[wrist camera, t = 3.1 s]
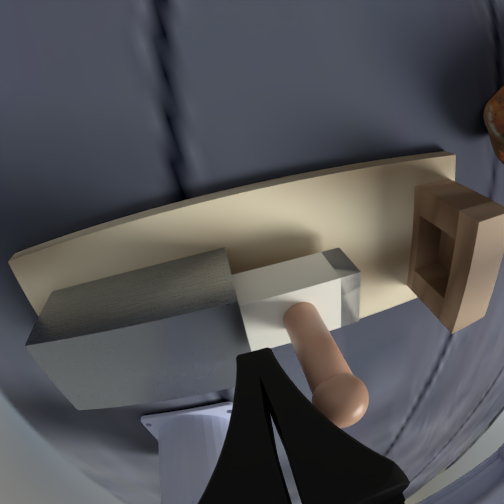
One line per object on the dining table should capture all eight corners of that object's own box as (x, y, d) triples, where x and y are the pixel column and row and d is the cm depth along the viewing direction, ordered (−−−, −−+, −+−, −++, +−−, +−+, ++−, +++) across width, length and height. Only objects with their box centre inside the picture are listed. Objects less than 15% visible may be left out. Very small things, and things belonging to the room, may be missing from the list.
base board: (432, 281, 21) (440, 287, 20) (87, 371, 19) (84, 382, 18) (445, 151, 16) (455, 154, 15) (15, 253, 14) (7, 261, 13)
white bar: (340, 294, 17) (416, 409, 10) (73, 355, 16) (45, 477, 8) (339, 247, 15) (436, 363, 8) (48, 318, 14) (1, 444, 7)
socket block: (438, 273, 19) (484, 316, 15) (406, 285, 19) (451, 334, 15) (449, 178, 16) (511, 211, 11) (414, 185, 16) (478, 222, 11)
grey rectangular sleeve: (243, 322, 18) (259, 380, 14) (90, 354, 17) (78, 410, 13) (224, 247, 15) (237, 301, 11) (51, 291, 14) (24, 345, 11)
